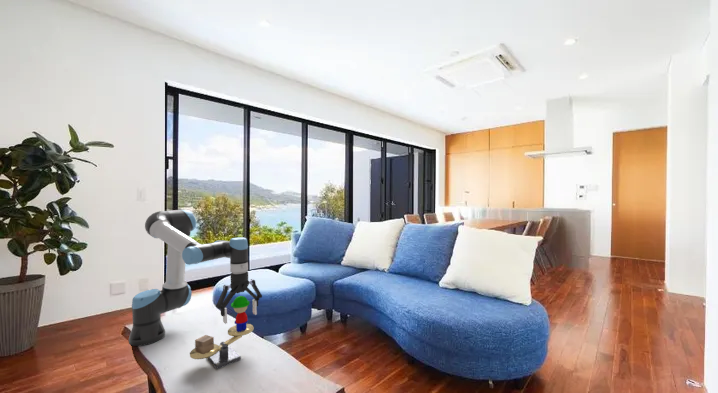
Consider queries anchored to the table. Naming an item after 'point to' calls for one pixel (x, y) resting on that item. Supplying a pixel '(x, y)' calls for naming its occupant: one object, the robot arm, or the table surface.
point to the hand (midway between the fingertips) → (240, 318)
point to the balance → (224, 349)
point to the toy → (240, 312)
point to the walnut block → (204, 344)
